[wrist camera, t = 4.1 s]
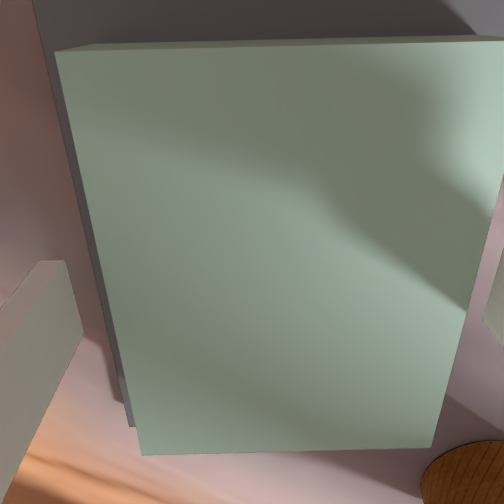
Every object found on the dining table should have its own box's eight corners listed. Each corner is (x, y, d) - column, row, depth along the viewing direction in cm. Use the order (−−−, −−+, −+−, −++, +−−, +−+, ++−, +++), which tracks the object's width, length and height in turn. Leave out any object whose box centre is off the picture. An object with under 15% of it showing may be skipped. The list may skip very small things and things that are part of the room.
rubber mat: (529, -47, 12) (550, -51, 12) (423, 402, 21) (431, 418, 20) (38, -35, 12) (23, -39, 12) (133, 409, 21) (129, 427, 20)
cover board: (477, 34, 13) (539, 40, 10) (405, 388, 19) (430, 447, 17) (94, 43, 13) (54, 51, 10) (156, 394, 19) (141, 455, 17)
